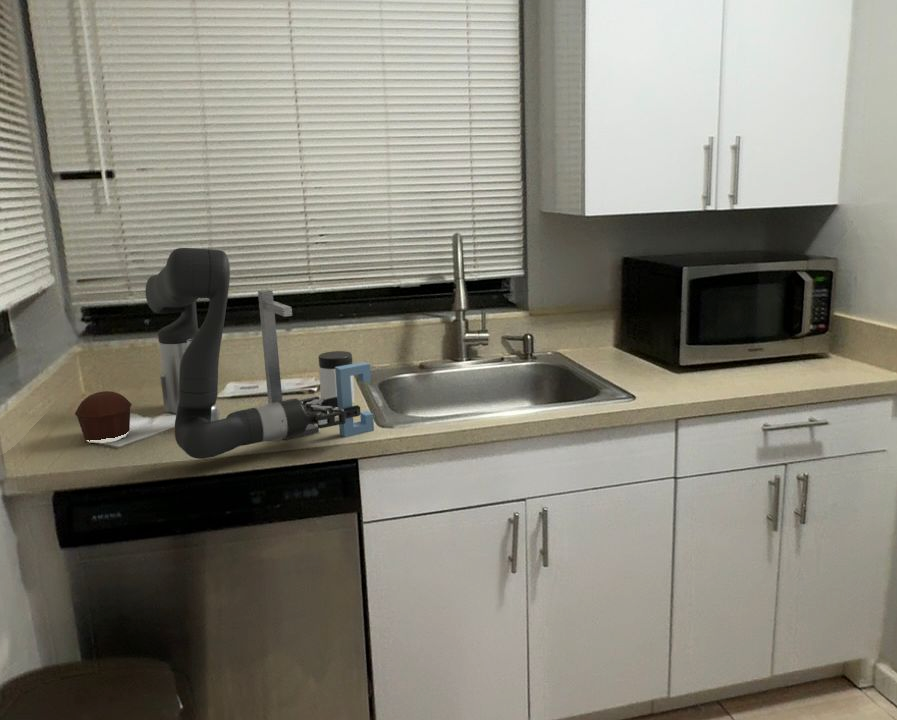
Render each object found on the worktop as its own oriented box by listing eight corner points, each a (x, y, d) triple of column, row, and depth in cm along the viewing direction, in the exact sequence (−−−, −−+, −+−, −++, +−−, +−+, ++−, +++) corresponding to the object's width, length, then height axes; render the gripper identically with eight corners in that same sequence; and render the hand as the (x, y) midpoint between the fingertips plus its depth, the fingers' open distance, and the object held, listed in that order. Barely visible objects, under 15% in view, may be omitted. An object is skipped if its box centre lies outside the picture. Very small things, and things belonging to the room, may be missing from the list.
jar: (328, 409, 182) (325, 360, 179) (315, 401, 188) (311, 354, 186) (362, 402, 187) (359, 354, 184) (347, 394, 193) (344, 349, 190)
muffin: (114, 447, 160) (107, 402, 158) (67, 445, 162) (60, 401, 160) (145, 429, 172) (140, 386, 169) (101, 427, 174) (95, 385, 171)
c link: (344, 437, 162) (340, 369, 158) (339, 434, 164) (334, 367, 160) (374, 430, 165) (370, 364, 162) (368, 427, 168) (364, 361, 164)
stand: (284, 440, 161) (271, 301, 154) (255, 419, 176) (243, 291, 169) (318, 432, 165) (308, 296, 158) (288, 412, 180) (277, 287, 173)
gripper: (290, 411, 148) (364, 395, 156) (265, 395, 159) (335, 381, 168) (293, 447, 149) (366, 430, 158) (268, 428, 161) (337, 413, 169)
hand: (350, 405), depth 163 cm, fingers open, 8 cm apart
